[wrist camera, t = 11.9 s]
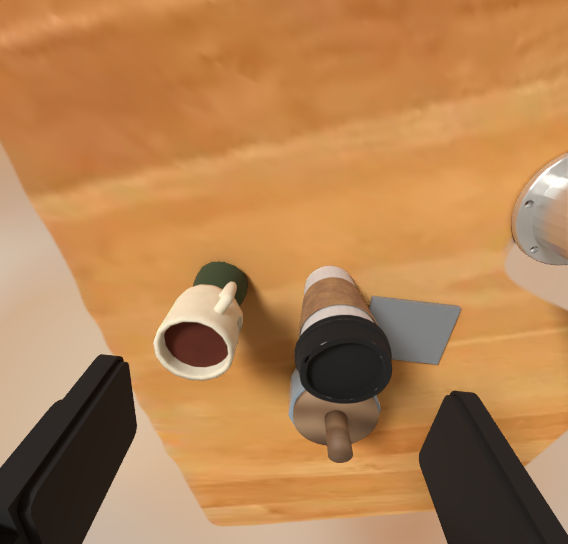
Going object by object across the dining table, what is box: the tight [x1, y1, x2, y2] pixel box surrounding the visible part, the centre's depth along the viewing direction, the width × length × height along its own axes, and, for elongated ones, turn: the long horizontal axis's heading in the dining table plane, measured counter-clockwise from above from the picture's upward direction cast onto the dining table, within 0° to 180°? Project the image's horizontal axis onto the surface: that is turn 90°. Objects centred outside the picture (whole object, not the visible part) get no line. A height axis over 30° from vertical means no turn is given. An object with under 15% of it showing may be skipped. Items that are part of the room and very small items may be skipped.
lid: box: [293, 390, 379, 463], centre depth 40 cm, size 11×11×6 cm
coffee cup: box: [295, 266, 392, 404], centre depth 33 cm, size 8×8×15 cm
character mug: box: [154, 262, 248, 381], centre depth 34 cm, size 11×7×13 cm, turn 144°
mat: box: [369, 296, 461, 365], centre depth 42 cm, size 11×9×1 cm
